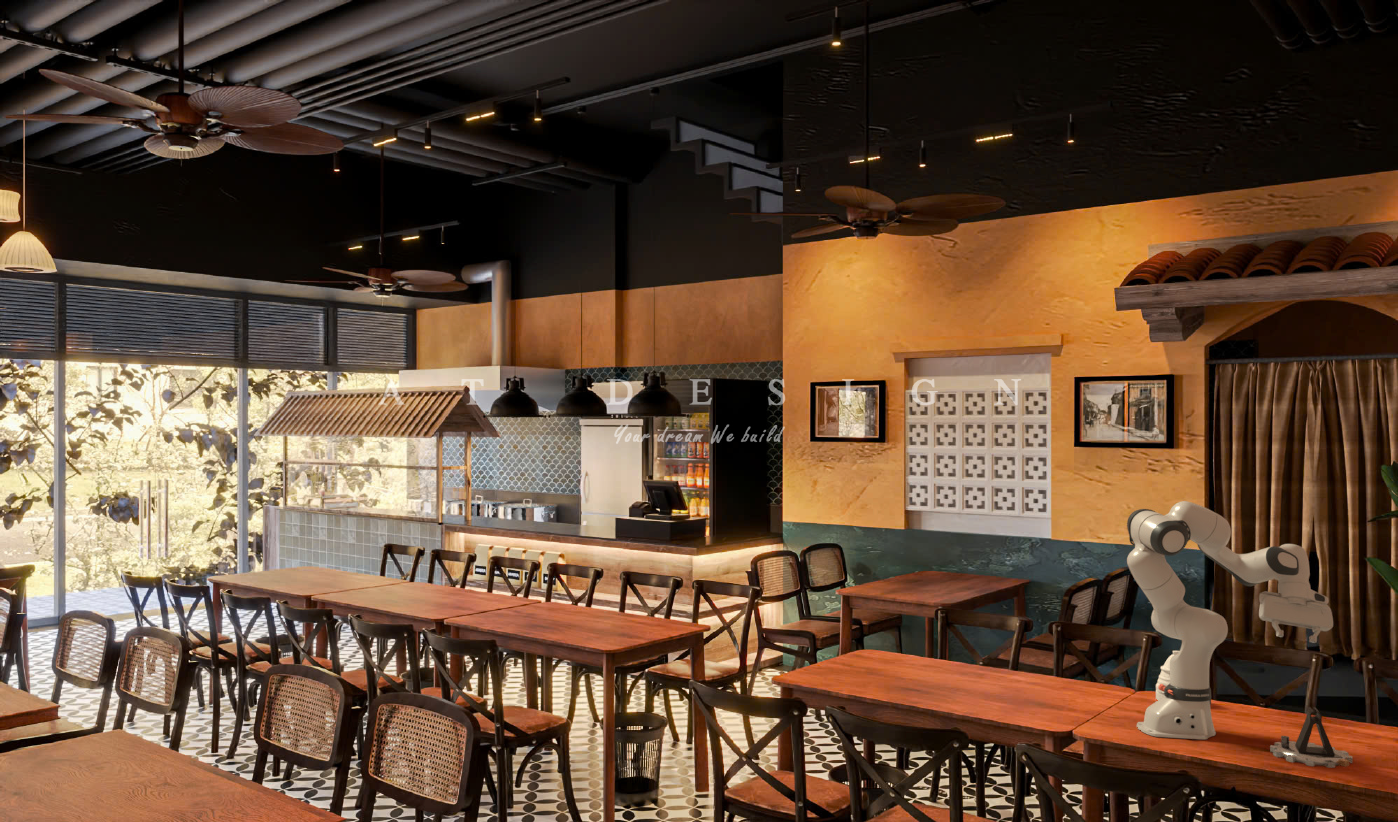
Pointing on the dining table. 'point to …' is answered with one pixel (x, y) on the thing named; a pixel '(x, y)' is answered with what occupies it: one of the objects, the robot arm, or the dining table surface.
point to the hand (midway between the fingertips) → (1296, 639)
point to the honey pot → (1164, 676)
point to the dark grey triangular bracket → (1306, 733)
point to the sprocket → (1292, 754)
